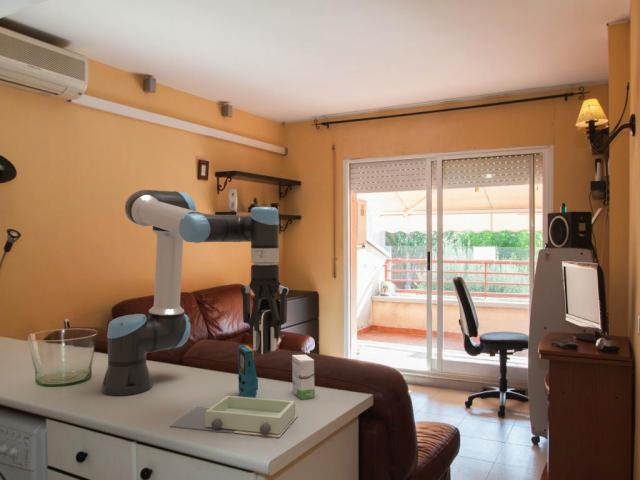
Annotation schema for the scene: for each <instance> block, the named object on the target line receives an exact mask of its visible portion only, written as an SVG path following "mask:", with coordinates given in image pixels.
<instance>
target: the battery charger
mask: <svg viewBox="0 0 640 480" xmlns="http://www.w3.org/2000/svg"><path fill="white" fill-rule="evenodd" d="M272 326H273V321H272V316H271V311H270V309H262V310H259V312H257V313H256V314H255V319H254V331H258V334H259V348H258V349H257V350H255V353H257V354H259V355H266V354H267V355H268V354H271V353H272V352H273V351H271V327H272Z"/></svg>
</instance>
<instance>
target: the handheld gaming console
mask: <svg viewBox="0 0 640 480" xmlns="http://www.w3.org/2000/svg"><path fill="white" fill-rule="evenodd" d="M237 378H238V393H239V396H240V397H250V398H257V393H258V390H259V378H258V376H257V372H256V359H255V350H253V348H252V347H250V346H249V345H243V344H242V345H239V346H238V377H237Z"/></svg>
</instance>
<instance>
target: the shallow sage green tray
mask: <svg viewBox="0 0 640 480" xmlns="http://www.w3.org/2000/svg"><path fill="white" fill-rule="evenodd" d="M208 408H209V409H208V410H206V411H205V427H212V428H213V429H215V430H217V429H219V428H224V429H234V430H244V431H254V432H261V433H262V434H264V435H266V434H268V433H273V434H280V433H281V432H282V431H283V429H284V428H285V427H286V426H287V425H288V424H289V423H290V421H291V420H292V419H293V418H294V417H295V416H296V401H295V400H284V399H274V398H273V399H272V398H259V397H256V398H250V397H241V396H237V395H236V396H235V395H226V396H224V397H223V398H222V399H219V401H218V402H216V403H215V404H213V405H212V406H210V407H208Z"/></svg>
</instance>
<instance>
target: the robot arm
mask: <svg viewBox="0 0 640 480" xmlns="http://www.w3.org/2000/svg"><path fill="white" fill-rule="evenodd" d="M124 212H125V215H126V218H128V220H130V221H131V222H132V223H134V224H136V225H139V226H142V227H148V226H152V231H153V232H154V234H155V235H156V247H155V248H156V250H155V251H156V252H155V254H156V255H155V269H154V270H155V271H154V272H155V273H154V275H155V276H154V290H153V291H154V293H153V294H154V296H153V306H152V307H151V308H149V310H148V317H146V316H147V315H146V314H143V313H134V314H128V315H123V316H118V317H116V318H114V319H112V320H111V321H109V322H108V325H107V334H106V338H107V369H106V372H105V374H104V378H103V381H102V385H101V391H102V394H105V395H109V396H117V397H118V396H131V395H136V394H141V393H144V392H147V391H148V390H151V389H152V388H153V380H152V375H151V373H150V370H149V367H148V364H147V354H148V353H149V354H150V353H156V352H160V351H166V350H173V349H176V348H181V347H182V346H184V345H185V343H187V341H189V340H188V339H189V338H190V335H191V325H192V324H191V322H190V318H189V316H188V315H187V314H186V313H185V309H184V308H182V306H181V294H182V293H181V290H182V289H181V288H182V271H183V268H182V267H183V252H184V251H183V250H184V249H183V247H184V242H187V243H194V244H199V243H243V242H245V243H246V242H247V243H248V242H250V263H252V265H251V266H250V282H249V284H248V285H245V286H242V287H240V292H241V295H242V322H243V323H244V324H247V325H249V336H250V338H252V340H253V341H252V342H253V343H252V346H253V348H252V349H253V350H254V351H257V350H258V348H259V343H260V339H259V334H258V331H254V319H255V314H256V313H257V312H259V311H260V308H261V303H262V301H263V299H267V303H268V306H269V310H270V311H271V316H272V321H273V326H272V327H271V351H272V352H274V351H276V350H277V343H278V341H277V339H279V338H280V337H281V326H283V325H285V324H286V323H287V319H288V317H287V316H288V295H289V292H290V288H289V287H285V286H283V285H281V283H280V280H279V277H280V275H279V272H280V270H279V269H280V267H279V264H278V263H279V262H280V257H279V255H280V252H279V251H280V250H279V248H280V247H279V246H280V245H279V233H280V232H279V231H280V230H279V228H280V219H279V210H278V209H277V208H276V207H274V206H255V207H252V208H251V209H250V215H249V214H247V215H246V214H244V215H243V214H242V215H241V214H237V215H235V214H212V213H211V214H209V213H203V212H199V211H197V207H196V203H195V201H194V199H193V198H192V196H191V195H190V194H188V193H186V192H181V191H176V190H174V191H172V190H155V189H154V190H153V189H141V190H137V191H136V192H133V193H132V194H131V195H130V196H129V197H127V199H126V202H125V205H124ZM251 291H252V292H253V294H254V296H253V303H252V308H251V294H250V293H251ZM278 291H279V294H280V296H279V297H280V300H279V310H278V307H277V306H278V305H277V298H276V294H277V292H278Z"/></svg>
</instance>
